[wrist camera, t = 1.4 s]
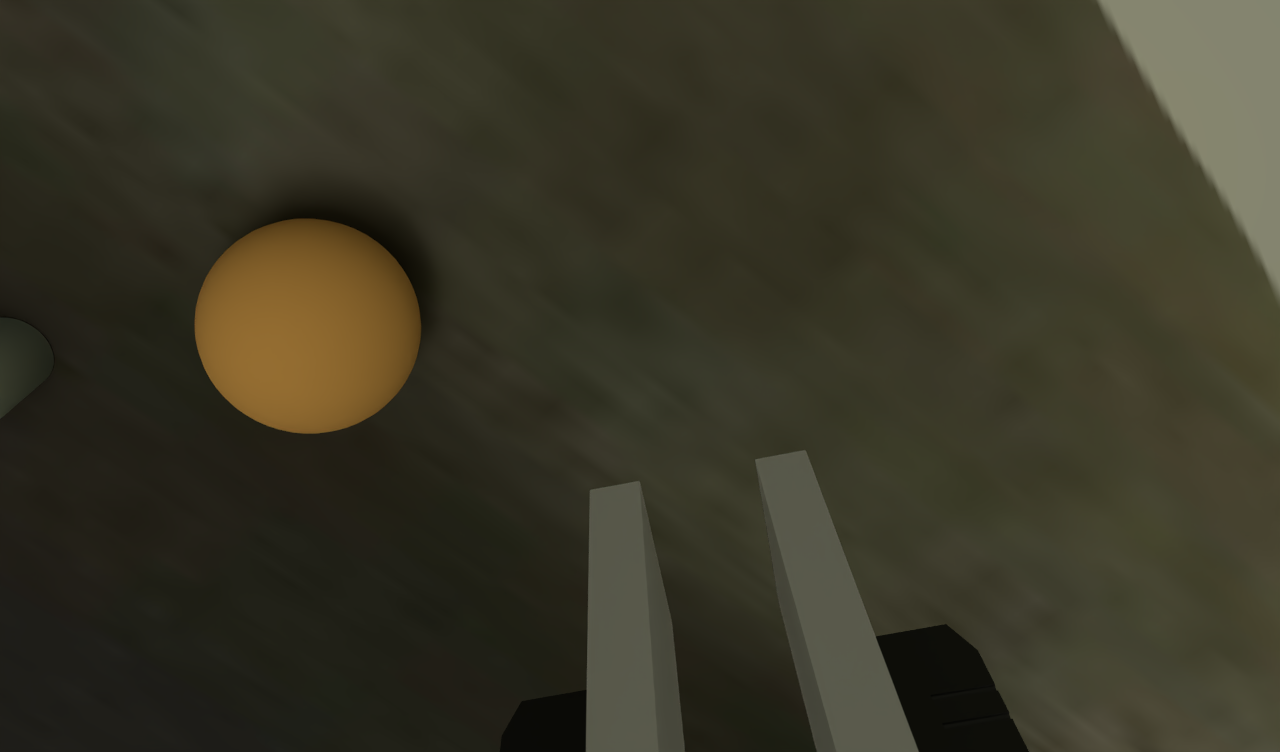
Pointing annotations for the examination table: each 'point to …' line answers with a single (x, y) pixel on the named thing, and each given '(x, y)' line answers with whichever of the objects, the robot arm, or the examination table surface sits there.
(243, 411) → the ball
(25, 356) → the pin
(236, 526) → the examination table surface
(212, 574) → the examination table surface
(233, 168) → the examination table surface
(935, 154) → the examination table surface
